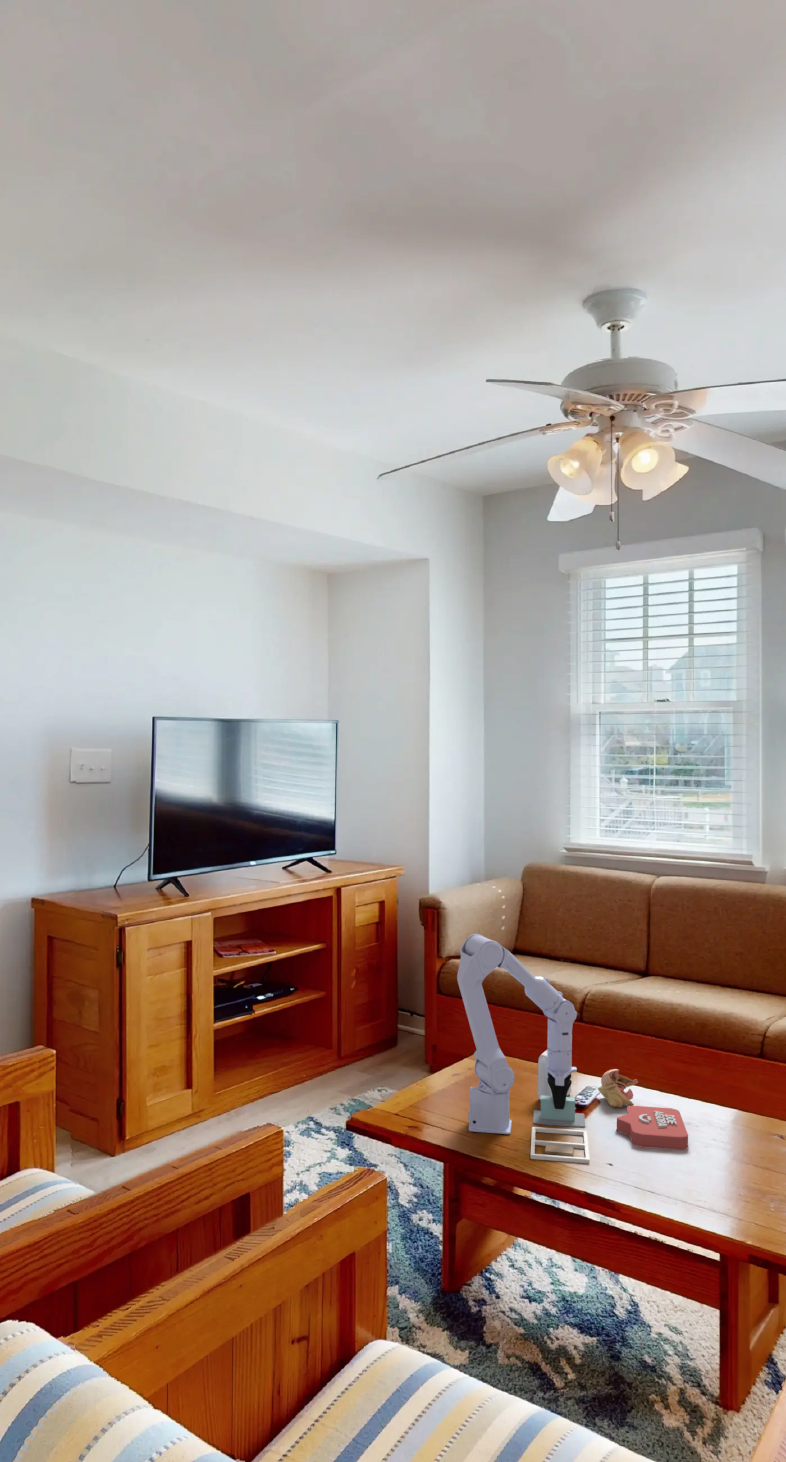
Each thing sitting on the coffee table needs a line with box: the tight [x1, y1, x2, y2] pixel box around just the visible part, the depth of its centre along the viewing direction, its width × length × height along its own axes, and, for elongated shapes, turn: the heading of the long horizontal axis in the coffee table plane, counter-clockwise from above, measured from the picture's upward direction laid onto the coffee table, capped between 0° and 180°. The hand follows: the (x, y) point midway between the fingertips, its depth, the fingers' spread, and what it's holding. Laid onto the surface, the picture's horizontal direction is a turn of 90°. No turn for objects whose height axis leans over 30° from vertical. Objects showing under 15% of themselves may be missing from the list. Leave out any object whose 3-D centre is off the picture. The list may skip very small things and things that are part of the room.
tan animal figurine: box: [597, 1068, 639, 1108], centre depth 239 cm, size 9×10×10 cm
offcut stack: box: [544, 1145, 575, 1157], centre depth 208 cm, size 6×4×2 cm, turn 78°
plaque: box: [616, 1105, 689, 1151], centre depth 220 cm, size 18×4×15 cm
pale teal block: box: [540, 1095, 576, 1121], centre depth 228 cm, size 8×2×5 cm, turn 81°
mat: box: [532, 1109, 586, 1129], centre depth 227 cm, size 12×8×1 cm, turn 81°
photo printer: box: [537, 1049, 572, 1101], centre depth 243 cm, size 10×4×12 cm, turn 134°
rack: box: [530, 1126, 591, 1164], centre depth 212 cm, size 12×16×1 cm
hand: (559, 1106), depth 228 cm, fingers closed on pale teal block, 2 cm apart
